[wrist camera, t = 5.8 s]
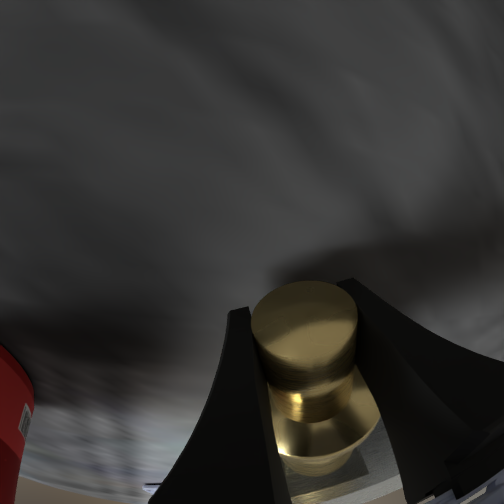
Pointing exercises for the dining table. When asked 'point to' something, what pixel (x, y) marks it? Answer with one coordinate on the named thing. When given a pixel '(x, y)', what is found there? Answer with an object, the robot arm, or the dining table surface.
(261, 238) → the dining table surface
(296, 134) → the dining table surface
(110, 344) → the dining table surface
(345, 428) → the brass flanged cylinder
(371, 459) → the housing
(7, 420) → the canned food
